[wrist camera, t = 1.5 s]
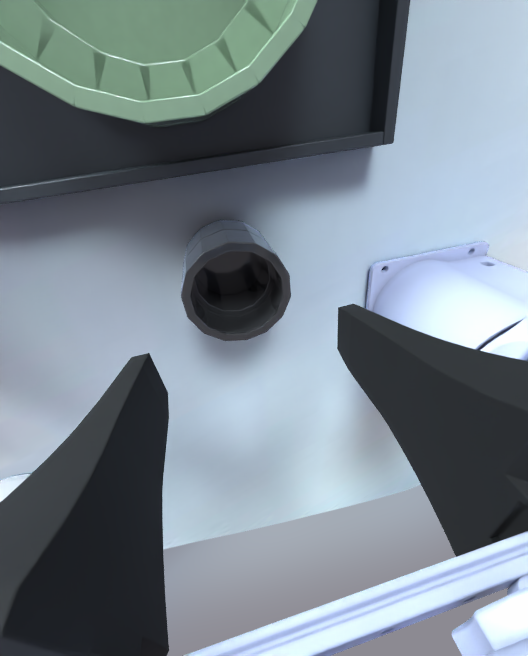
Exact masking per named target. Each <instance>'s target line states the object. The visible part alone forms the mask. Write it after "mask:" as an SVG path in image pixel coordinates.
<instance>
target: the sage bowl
mask: <svg viewBox="0 0 528 656" xmlns="http://www.w3.org/2000/svg"><path fill="white" fill-rule="evenodd" d="M317 1H318V0H0V66H1V67H3V68H5V69H7V70H9V71H10V72H12V73H14V74H16V75H17V76H19V77H21V78H23V79H25V80H26V81H28V82H30V83H32V84H34V85H35V86H37V87H39V88H41V89H43V90H44V91H46V92H48V93H50V94H52V95H53V96H55V97H57V98H59V99H60V100H62V101H64V102H66V103H68V104H69V105H71V106H73V107H76V108H78V109H82V110H85V111H89V112H92V113H96V114H100V115H103V116H107V117H110V118H114V119H119V120H123V121H127V122H132V123H136V124H141V125H145V126H149V127H154V128H167V127H174V126H181V125H189V124H196V123H201V122H204V121H206V120H208V119H209V118H211V117H213V116H214V115H216V114H218V113H220V112H221V111H223V110H225V109H226V108H228V107H230V106H232V105H233V104H235V103H237V102H238V101H240V100H241V99H242V98H243V97H244V96H246V95H247V94H248V93H249V92H250V91H252V90H253V89H254V88H255V87H256V86H257V85H259V84H260V83H261V82H262V81H263V79H264V78H265V77H266V76H267V75H268V73H269V72H270V71H271V70H272V68H273V67H274V66H275V65H276V64H277V62H278V61H279V60H280V59H281V58H282V56H283V55H284V54H285V53H286V52H287V50H288V49H289V48H290V47H291V46H292V44H293V43H294V42H295V41H296V39H297V38H298V37H299V36H300V35H301V33H302V32H303V30H304V29H305V28H306V26H307V24H308V21H309V19H310V17H311V15H312V12H313V10H314V8H315V6H316V3H317Z"/></svg>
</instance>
